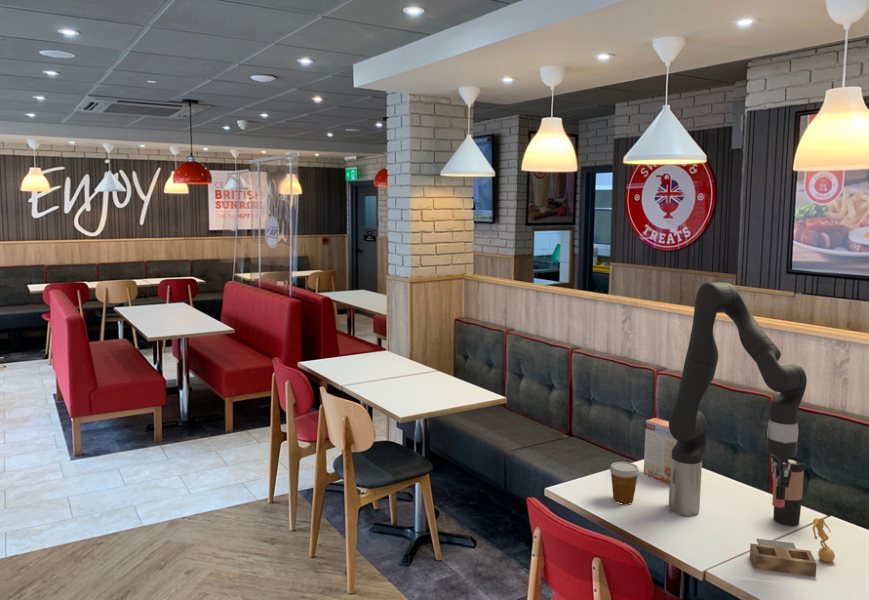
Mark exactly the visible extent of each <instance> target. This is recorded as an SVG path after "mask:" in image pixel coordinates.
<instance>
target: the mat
mask: <svg viewBox="0 0 869 600" xmlns="http://www.w3.org/2000/svg"><path fill="white" fill-rule="evenodd" d="M756 541H757V542H756V543H757V544H760V545H768V546H776V547H784V548H792V549H797V548H796V547H797V546H796V545H795V543H794V542H788V541H781V540H771V539H766V538H765V539H763V538H756Z"/></svg>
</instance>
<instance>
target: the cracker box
mask: <svg viewBox="0 0 869 600" xmlns="http://www.w3.org/2000/svg"><path fill="white" fill-rule="evenodd" d="M676 443H677V440H676V439H674V438H673V436H672V435H671V433H670V430H669V420H665V419H662V418H658V417H652V418H650V419H646V420H645V437H644V457H643V458H644V459H643V475H644V474H645V475H644V476H646V475H648V476H647V477H649V476H650V477H649V478H651V477H653V478H652V479H654V478H655V480H657V481H659V480H660V481H659V482H662V483H664V482H665V484H667V485H670V477H671V456H672V449H673V447H674V446H675V445H676Z"/></svg>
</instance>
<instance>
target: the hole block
mask: <svg viewBox="0 0 869 600" xmlns="http://www.w3.org/2000/svg"><path fill="white" fill-rule="evenodd" d="M749 544H750V545H749V548H750V549H749V559H750V561H751V564H752V567H753V569H755V570H764V571H771V572H776V573H777V572H779V573H784V574H791V575H792V574H793V575H801V576H806V577H807V576H808V577H814V578H815V577H816V576H817V564H818V563H817V561H816V559H815V557H814V555H813V553H812V551H811V550H806V549H802V548H801V549H800V548H796V549H792V548H784V547H776V546H768V545H760V544H758V543H749Z"/></svg>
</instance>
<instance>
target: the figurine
mask: <svg viewBox="0 0 869 600" xmlns="http://www.w3.org/2000/svg"><path fill="white" fill-rule="evenodd" d="M812 521H813V525H812V531H813V535H814V540H816V541H818V538H820V539H821V540H820V545H821V548H819V550H818V552H817V553H818V555H817V556H818V558H819V559H820V560H821V561H822V562H824V563H832V562H833V561H834V560H835V558H836V555H835V552H834V551H833V550H832V549H831V548H830V547H829V546H828V545H827V543H826V542H827V541H828V540H829V538H830V537H829V536H828V535H827V533H826V531H825V530H824V527H825V528H827V529H828V531H829V532H831V529H830V528H829V526H828V524H826V522H825V519H824V518H823V517H821V518H818V517H815V518H813V520H812ZM815 528H816V529H817V533H816V530H815ZM817 535H818V536H817Z"/></svg>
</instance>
